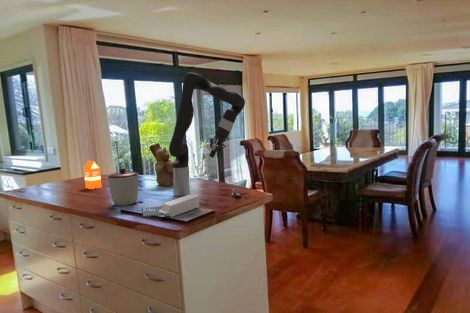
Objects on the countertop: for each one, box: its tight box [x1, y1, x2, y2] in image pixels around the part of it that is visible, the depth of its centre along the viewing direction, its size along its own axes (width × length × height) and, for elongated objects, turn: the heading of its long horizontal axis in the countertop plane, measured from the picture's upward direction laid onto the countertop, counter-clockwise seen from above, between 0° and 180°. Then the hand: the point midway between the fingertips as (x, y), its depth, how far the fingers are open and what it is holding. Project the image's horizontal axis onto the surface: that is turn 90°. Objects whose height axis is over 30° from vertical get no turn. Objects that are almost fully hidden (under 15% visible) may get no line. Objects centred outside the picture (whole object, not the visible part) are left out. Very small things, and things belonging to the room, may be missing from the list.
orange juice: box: [83, 160, 103, 190], centre depth 259 cm, size 8×9×20 cm
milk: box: [159, 193, 200, 218], centre depth 177 cm, size 6×6×22 cm
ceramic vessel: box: [148, 142, 174, 187], centre depth 255 cm, size 16×22×30 cm
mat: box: [141, 205, 163, 218], centre depth 183 cm, size 23×16×1 cm
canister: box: [105, 167, 140, 207], centre depth 202 cm, size 18×18×21 cm
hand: (211, 157), depth 193 cm, fingers closed
